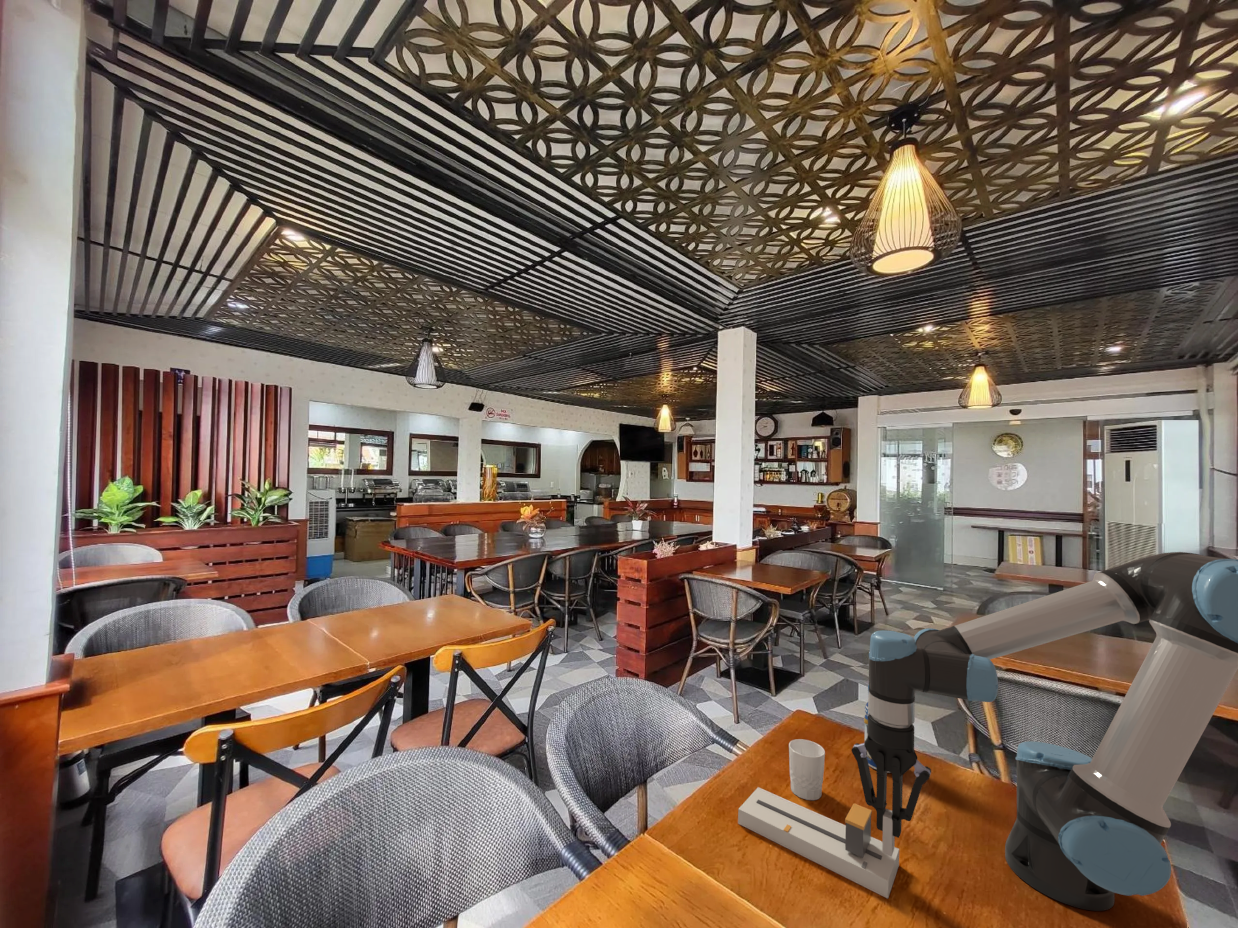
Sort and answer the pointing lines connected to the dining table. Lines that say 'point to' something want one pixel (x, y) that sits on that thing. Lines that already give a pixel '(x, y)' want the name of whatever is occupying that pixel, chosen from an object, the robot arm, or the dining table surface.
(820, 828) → the dimmer console
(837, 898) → the dining table surface
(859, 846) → the fader knob
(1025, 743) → the robot arm
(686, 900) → the dining table surface
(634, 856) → the dining table surface
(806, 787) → the white cup
